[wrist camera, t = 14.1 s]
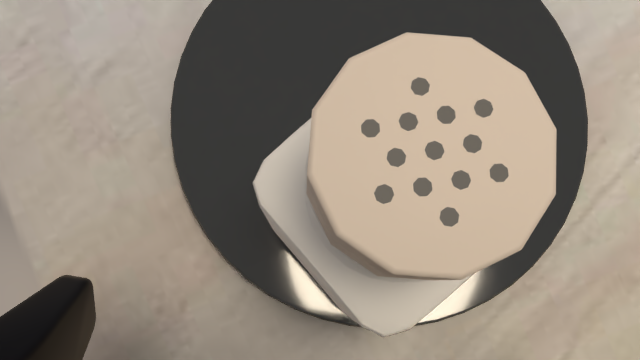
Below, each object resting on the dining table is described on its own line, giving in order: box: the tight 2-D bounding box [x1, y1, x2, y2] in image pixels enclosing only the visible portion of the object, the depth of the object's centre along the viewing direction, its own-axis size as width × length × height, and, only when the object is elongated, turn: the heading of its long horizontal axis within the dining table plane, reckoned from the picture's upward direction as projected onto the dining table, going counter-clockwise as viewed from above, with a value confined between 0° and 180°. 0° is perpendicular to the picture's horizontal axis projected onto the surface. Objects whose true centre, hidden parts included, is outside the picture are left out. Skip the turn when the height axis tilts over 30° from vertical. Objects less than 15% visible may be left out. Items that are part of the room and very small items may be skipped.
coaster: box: [171, 0, 588, 327], centre depth 18 cm, size 12×12×1 cm
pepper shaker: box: [253, 32, 557, 337], centre depth 12 cm, size 4×4×10 cm
